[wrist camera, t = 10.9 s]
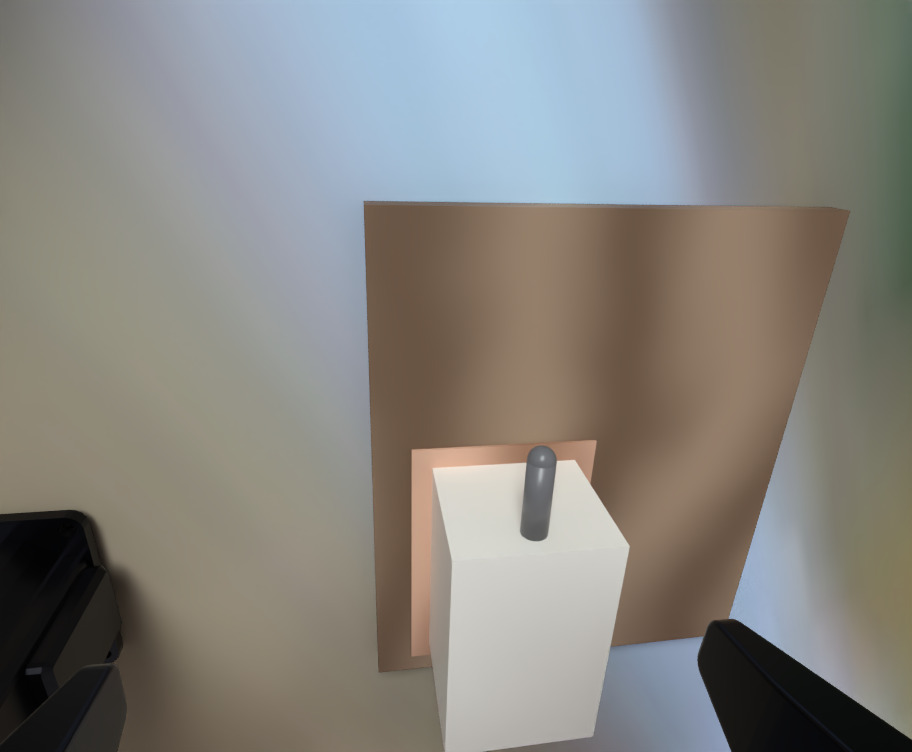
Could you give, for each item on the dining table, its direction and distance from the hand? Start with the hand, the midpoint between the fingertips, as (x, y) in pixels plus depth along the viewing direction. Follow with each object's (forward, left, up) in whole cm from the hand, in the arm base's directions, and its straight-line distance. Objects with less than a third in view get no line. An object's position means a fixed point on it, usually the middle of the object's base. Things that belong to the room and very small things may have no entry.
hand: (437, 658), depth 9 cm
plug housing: (+4, -6, -10) cm, 12 cm away
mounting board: (+7, -4, -11) cm, 13 cm away
